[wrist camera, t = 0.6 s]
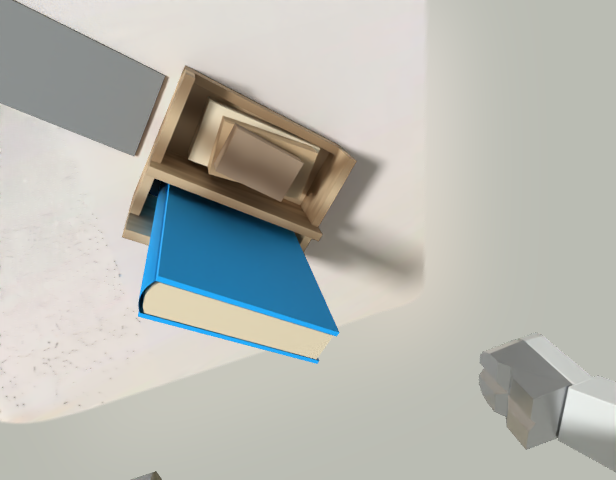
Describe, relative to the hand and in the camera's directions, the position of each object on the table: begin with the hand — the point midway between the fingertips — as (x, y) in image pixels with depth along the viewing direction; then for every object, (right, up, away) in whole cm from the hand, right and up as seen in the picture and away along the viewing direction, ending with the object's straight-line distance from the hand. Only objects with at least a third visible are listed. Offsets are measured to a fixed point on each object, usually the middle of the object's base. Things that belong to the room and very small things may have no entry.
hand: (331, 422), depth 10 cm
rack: (-9, +14, +43) cm, 46 cm away
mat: (-27, +22, +33) cm, 48 cm away
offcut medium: (-6, +14, +39) cm, 42 cm away
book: (-12, +9, +45) cm, 47 cm away
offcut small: (-6, +13, +36) cm, 39 cm away
